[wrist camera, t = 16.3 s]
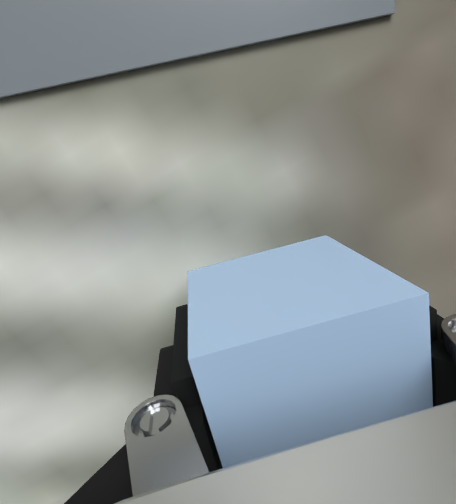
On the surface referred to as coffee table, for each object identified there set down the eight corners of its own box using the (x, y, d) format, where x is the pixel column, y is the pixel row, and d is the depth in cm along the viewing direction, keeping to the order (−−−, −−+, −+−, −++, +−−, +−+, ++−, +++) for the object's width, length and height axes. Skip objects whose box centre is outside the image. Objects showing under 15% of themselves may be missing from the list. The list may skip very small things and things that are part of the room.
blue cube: (325, 235, 11) (429, 293, 6) (342, 352, 13) (435, 470, 8) (187, 271, 11) (187, 359, 6) (221, 386, 12) (242, 529, 8)
